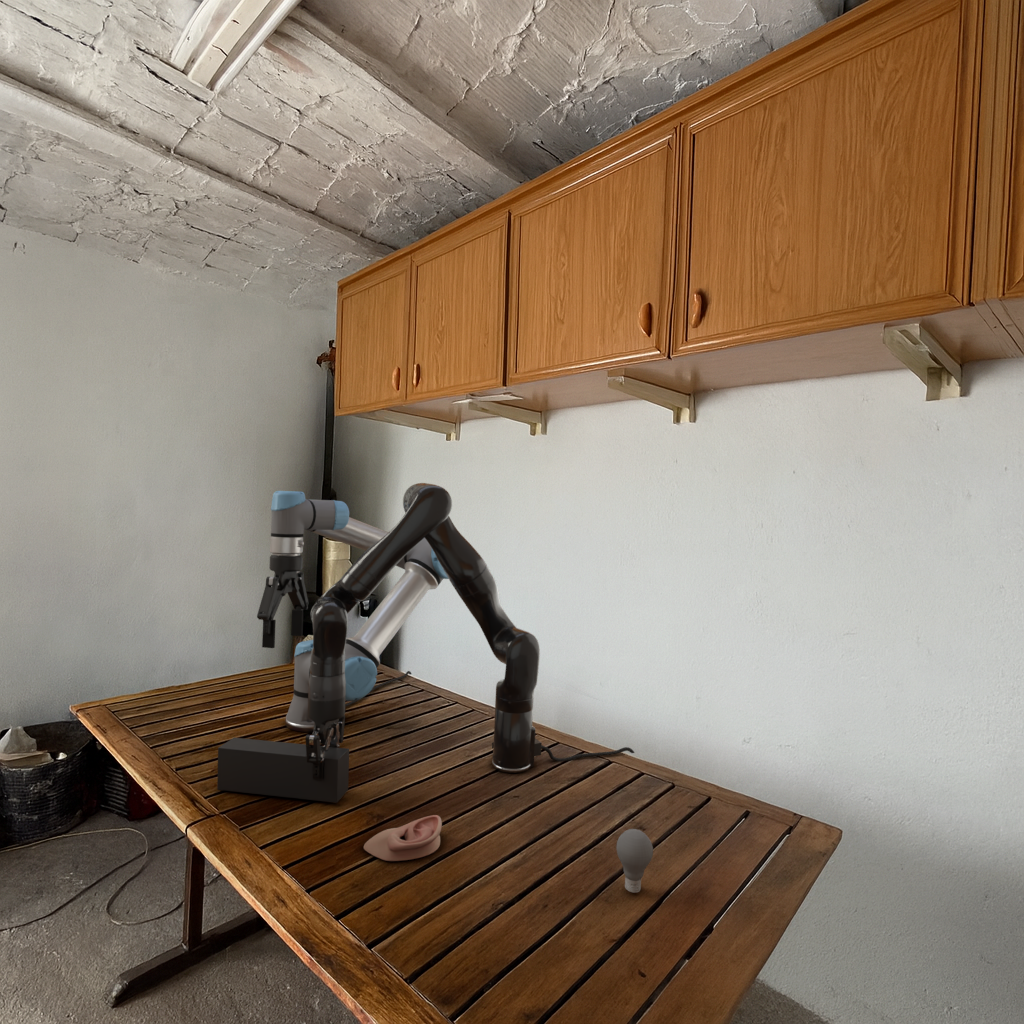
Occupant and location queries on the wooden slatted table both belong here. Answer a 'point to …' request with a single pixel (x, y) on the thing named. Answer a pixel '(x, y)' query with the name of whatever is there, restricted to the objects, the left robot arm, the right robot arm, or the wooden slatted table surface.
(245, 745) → the bar
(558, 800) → the wooden slatted table surface
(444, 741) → the wooden slatted table surface
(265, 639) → the left robot arm
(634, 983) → the wooden slatted table surface
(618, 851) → the light bulb
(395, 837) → the anatomical model
